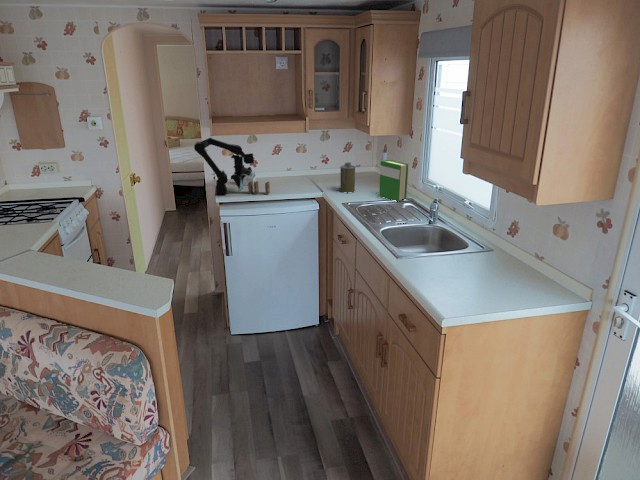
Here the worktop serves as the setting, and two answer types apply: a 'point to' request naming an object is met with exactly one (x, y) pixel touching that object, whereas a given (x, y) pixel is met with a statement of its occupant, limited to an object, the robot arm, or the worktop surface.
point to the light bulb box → (249, 178)
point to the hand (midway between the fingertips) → (240, 186)
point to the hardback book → (393, 179)
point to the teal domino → (240, 185)
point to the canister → (347, 178)
